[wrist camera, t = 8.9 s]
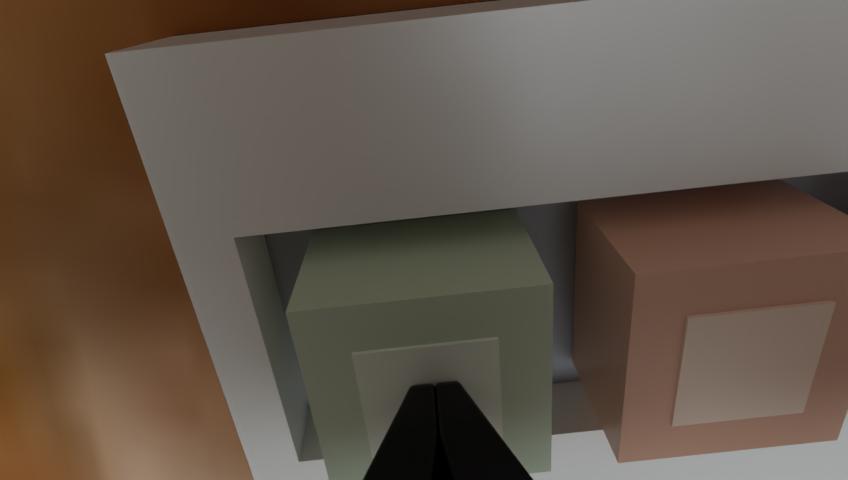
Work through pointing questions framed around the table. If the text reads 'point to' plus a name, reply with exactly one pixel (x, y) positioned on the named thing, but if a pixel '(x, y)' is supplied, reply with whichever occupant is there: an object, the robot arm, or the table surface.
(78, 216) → the table surface
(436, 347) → the key sage
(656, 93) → the keypad
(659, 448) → the key terracotta
